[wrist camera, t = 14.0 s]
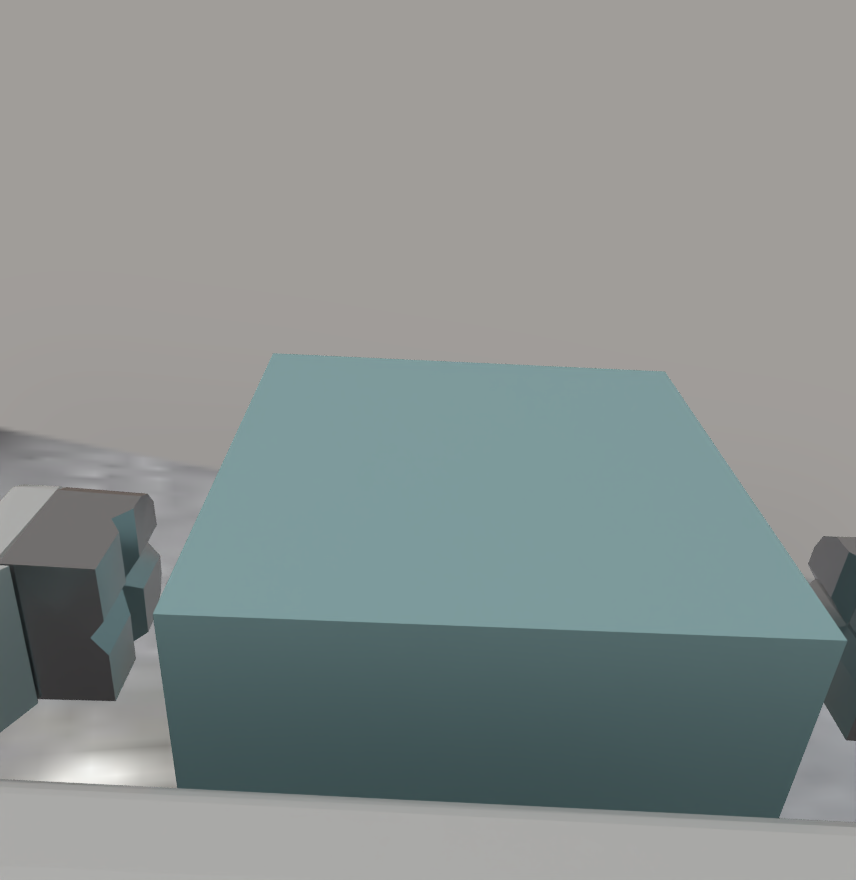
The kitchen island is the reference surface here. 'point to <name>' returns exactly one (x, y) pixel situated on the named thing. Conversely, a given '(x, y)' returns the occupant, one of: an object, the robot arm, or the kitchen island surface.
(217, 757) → the teal block
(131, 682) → the kitchen island surface
